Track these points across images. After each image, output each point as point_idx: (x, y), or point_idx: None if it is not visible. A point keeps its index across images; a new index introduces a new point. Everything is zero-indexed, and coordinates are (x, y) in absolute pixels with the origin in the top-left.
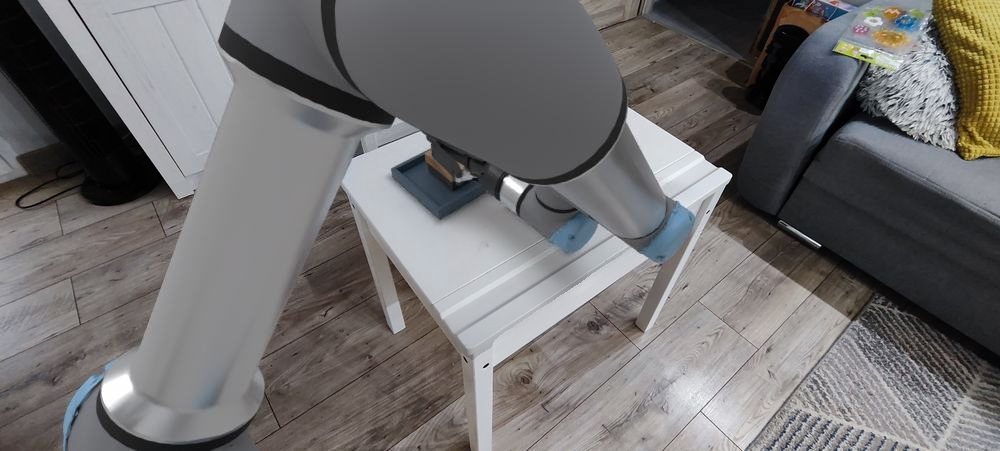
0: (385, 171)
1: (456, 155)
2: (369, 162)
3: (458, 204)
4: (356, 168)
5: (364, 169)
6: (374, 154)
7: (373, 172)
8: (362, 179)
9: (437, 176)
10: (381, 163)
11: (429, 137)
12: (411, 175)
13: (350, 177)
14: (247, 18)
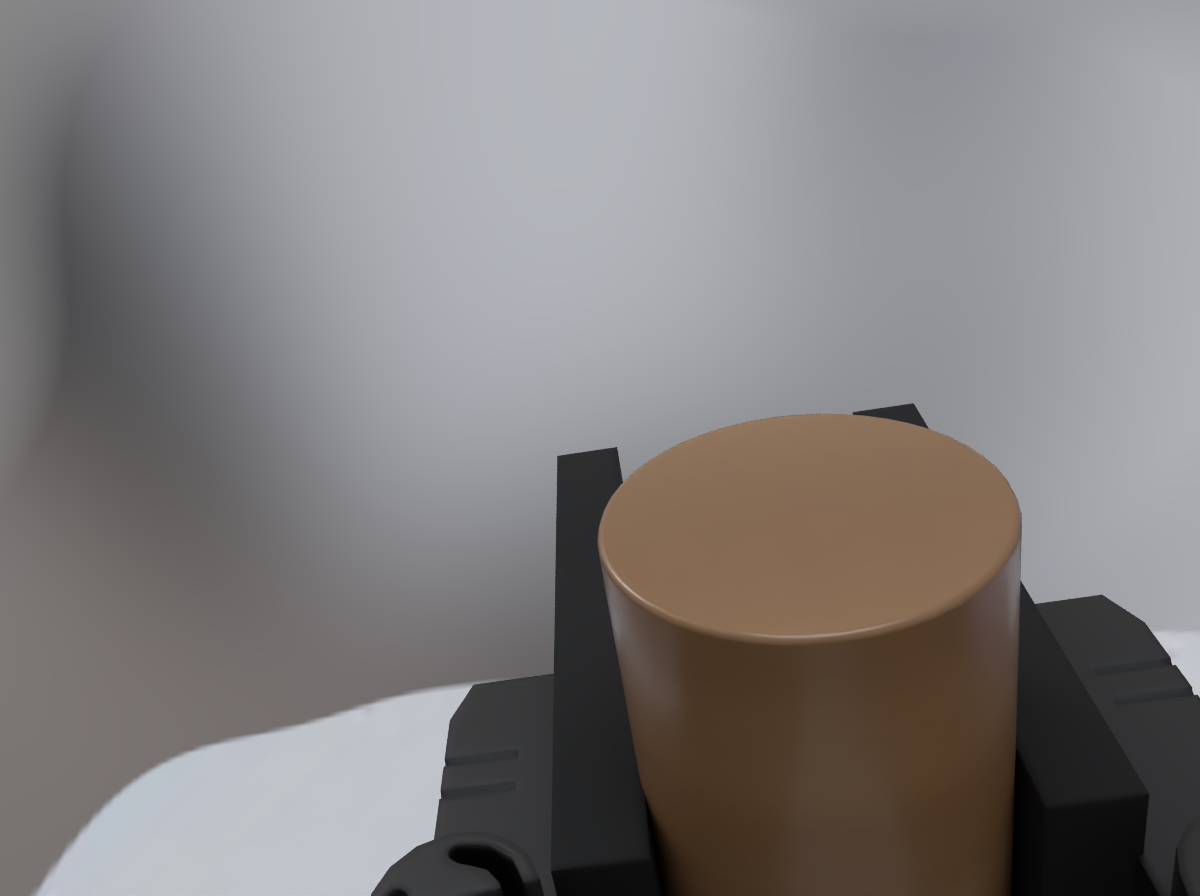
0: (354, 891)
1: None
2: (347, 747)
3: None
4: (230, 760)
5: (259, 794)
6: (439, 693)
7: (276, 854)
8: (151, 884)
9: None
10: (404, 794)
11: (447, 810)
12: None
13: (119, 822)
14: None
